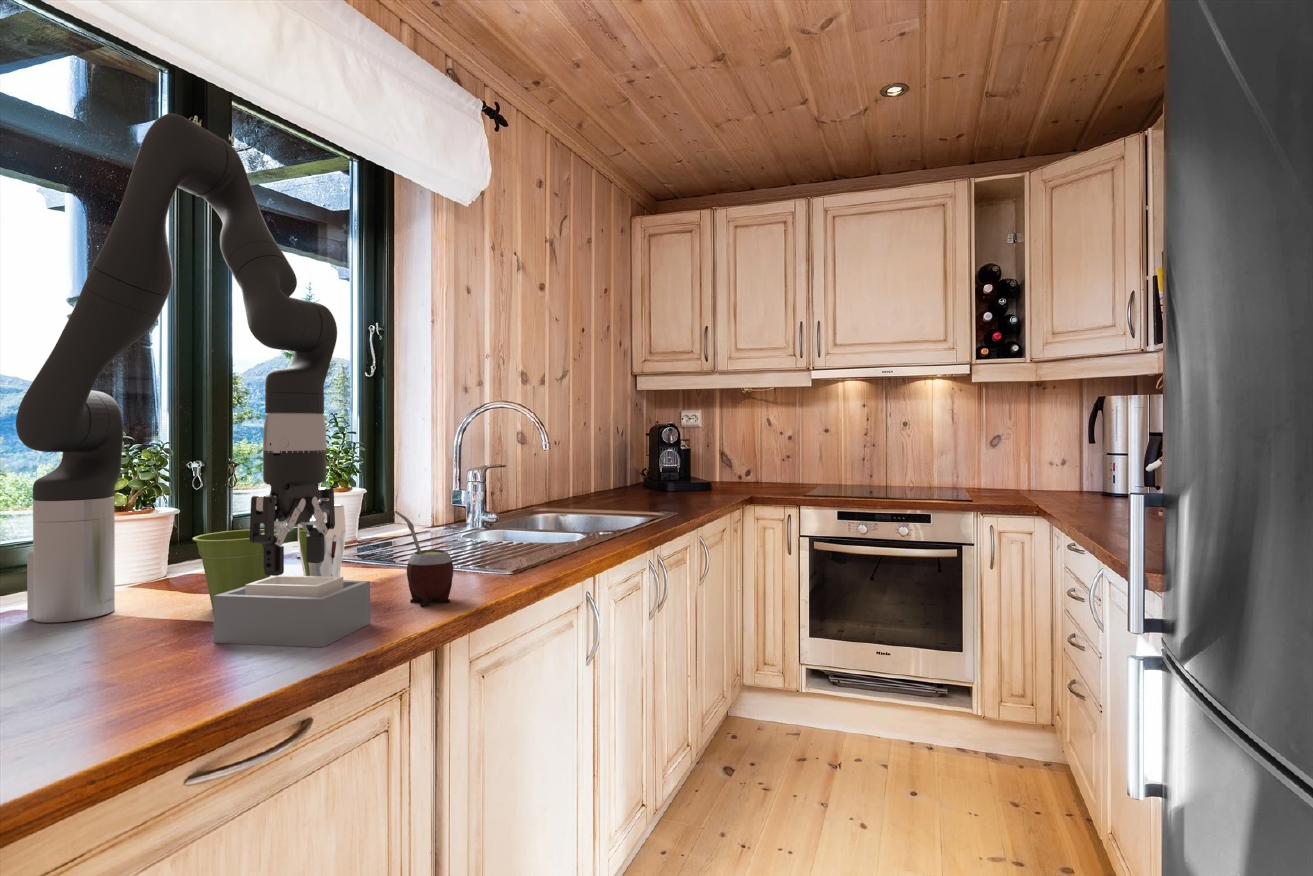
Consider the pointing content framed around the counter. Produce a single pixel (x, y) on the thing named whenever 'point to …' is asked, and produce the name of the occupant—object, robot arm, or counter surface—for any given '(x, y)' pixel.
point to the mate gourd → (428, 573)
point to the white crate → (295, 586)
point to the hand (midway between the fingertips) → (295, 568)
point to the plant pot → (230, 560)
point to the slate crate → (291, 617)
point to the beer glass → (325, 548)
